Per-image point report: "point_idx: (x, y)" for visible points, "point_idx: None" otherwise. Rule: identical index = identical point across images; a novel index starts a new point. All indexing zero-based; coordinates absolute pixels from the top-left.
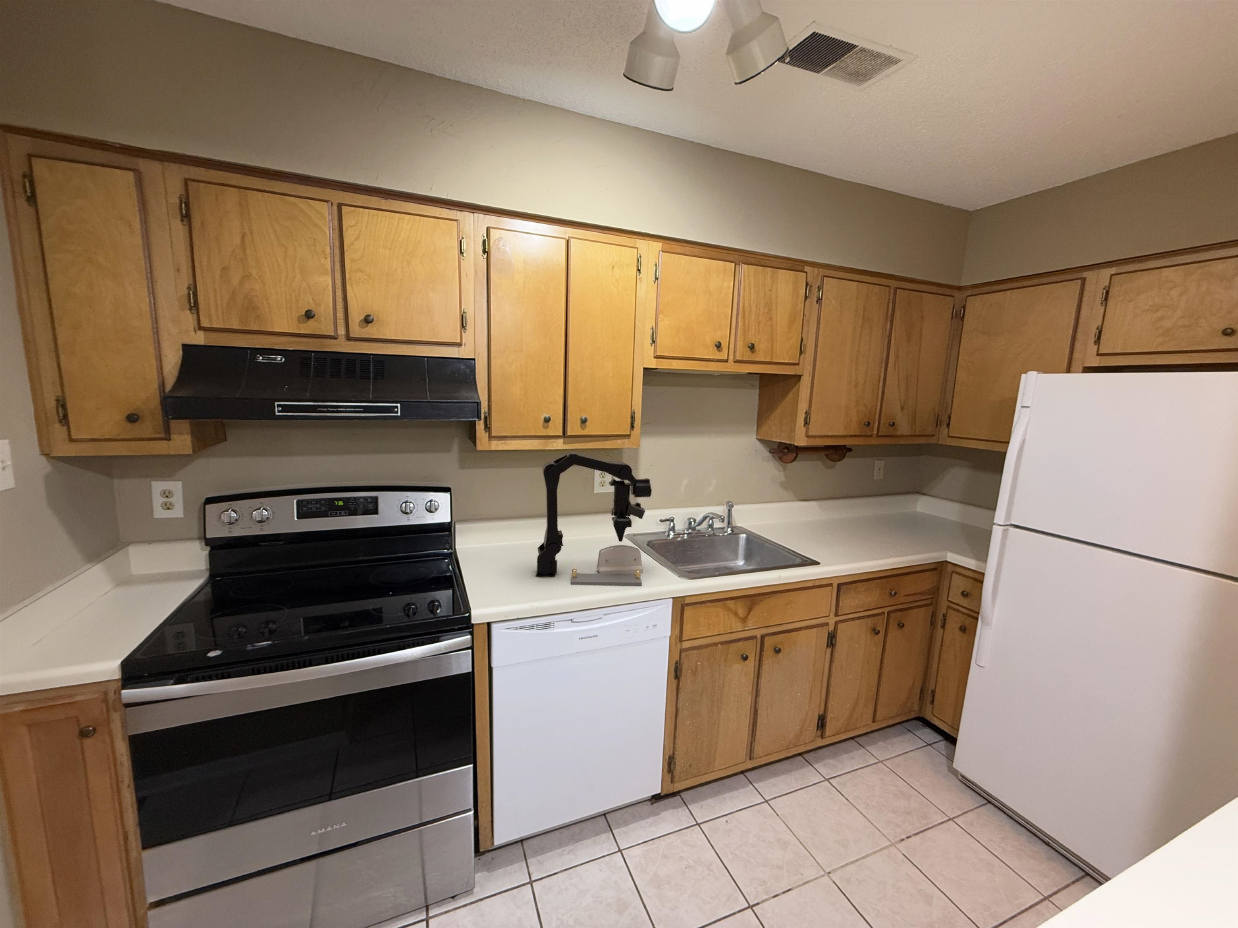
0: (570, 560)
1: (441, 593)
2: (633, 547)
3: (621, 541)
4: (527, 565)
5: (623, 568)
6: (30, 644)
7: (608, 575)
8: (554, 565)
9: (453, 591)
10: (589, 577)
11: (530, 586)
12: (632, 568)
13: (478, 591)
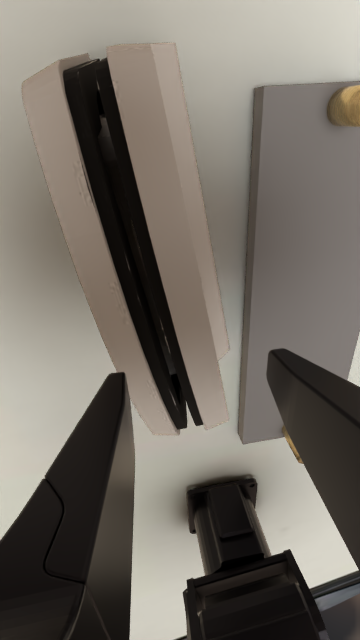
0: (35, 475)
1: (331, 602)
2: (135, 157)
3: (283, 352)
4: (136, 558)
5: (199, 219)
6: None
7: (279, 299)
8: (252, 520)
9: (324, 594)
10: None
11: (319, 503)
12: (190, 146)
13: (332, 568)
